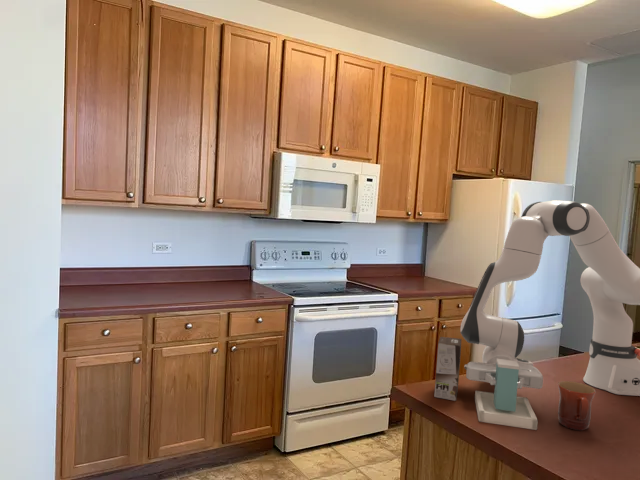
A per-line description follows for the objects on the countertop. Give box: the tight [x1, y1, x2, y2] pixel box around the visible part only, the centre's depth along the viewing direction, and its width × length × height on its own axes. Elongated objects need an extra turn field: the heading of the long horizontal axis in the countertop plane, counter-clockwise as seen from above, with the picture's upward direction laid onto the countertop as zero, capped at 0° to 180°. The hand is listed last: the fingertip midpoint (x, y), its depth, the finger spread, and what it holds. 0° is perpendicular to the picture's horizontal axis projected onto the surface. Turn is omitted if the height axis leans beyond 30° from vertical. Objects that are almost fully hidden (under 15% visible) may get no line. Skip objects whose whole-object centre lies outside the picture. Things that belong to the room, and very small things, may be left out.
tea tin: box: [493, 359, 519, 412], centre depth 132 cm, size 5×5×12 cm
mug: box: [557, 380, 597, 431], centre depth 125 cm, size 12×9×10 cm
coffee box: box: [433, 336, 462, 402], centre depth 144 cm, size 9×6×16 cm
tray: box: [474, 390, 539, 431], centre depth 132 cm, size 14×16×2 cm
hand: (506, 384), depth 131 cm, fingers closed on tea tin, 5 cm apart
